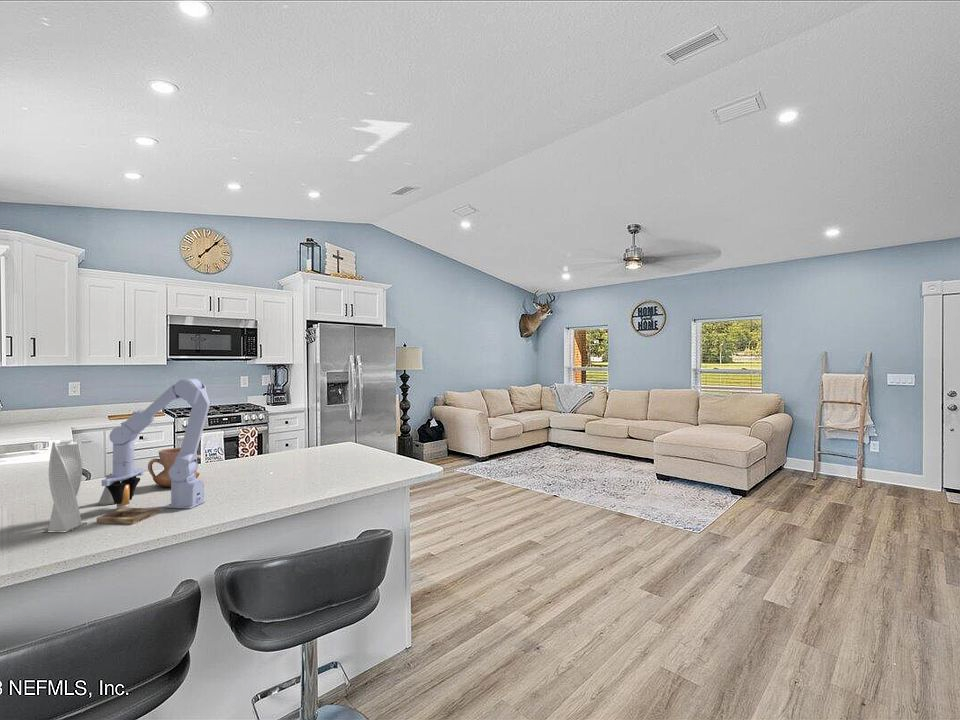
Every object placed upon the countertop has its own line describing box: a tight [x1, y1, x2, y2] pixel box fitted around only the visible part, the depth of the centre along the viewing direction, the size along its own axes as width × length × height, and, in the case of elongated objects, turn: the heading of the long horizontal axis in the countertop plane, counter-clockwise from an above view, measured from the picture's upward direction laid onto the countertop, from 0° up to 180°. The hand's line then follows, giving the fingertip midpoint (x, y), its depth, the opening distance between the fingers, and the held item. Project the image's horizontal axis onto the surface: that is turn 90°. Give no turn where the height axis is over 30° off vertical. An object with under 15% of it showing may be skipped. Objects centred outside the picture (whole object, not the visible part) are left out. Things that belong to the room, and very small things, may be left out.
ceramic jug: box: [147, 447, 202, 488], centre depth 185 cm, size 18×14×14 cm
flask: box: [97, 472, 115, 506], centre depth 162 cm, size 7×7×10 cm
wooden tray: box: [96, 507, 159, 525], centre depth 147 cm, size 12×10×2 cm
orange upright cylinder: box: [116, 484, 130, 510], centre depth 155 cm, size 3×3×8 cm
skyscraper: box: [43, 434, 88, 533], centre depth 137 cm, size 8×8×28 cm
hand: (123, 501), depth 155 cm, fingers open, 3 cm apart
